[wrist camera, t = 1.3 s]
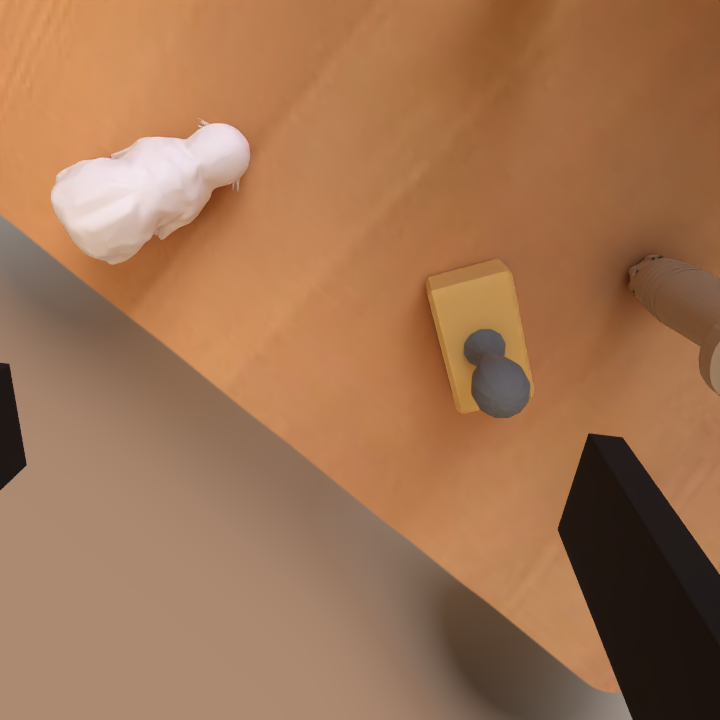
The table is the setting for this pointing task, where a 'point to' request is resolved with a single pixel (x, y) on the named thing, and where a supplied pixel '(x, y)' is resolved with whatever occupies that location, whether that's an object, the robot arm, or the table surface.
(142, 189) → the white lumpy piece
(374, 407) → the table surface
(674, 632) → the robot arm
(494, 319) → the rubber stamp
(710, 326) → the handle
